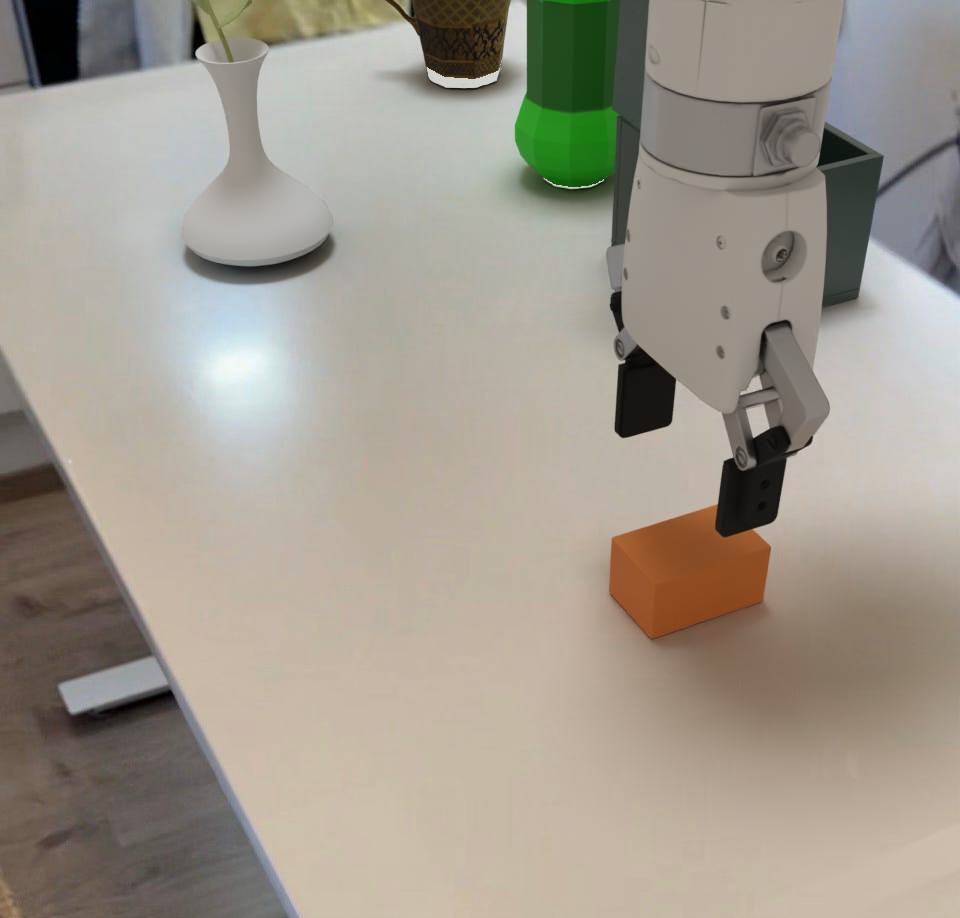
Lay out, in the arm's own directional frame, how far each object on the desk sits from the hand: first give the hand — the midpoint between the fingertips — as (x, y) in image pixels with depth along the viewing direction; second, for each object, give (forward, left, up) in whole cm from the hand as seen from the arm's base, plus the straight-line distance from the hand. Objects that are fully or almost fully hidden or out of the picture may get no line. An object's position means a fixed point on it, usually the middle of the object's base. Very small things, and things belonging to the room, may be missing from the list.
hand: (692, 476), depth 70 cm
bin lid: (-4, -35, +9) cm, 36 cm away
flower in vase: (+27, -45, -8) cm, 53 cm away
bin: (-8, -37, -8) cm, 39 cm away
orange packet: (0, 0, -8) cm, 8 cm away
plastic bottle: (+2, -55, -8) cm, 56 cm away
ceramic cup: (+12, -78, -8) cm, 79 cm away
